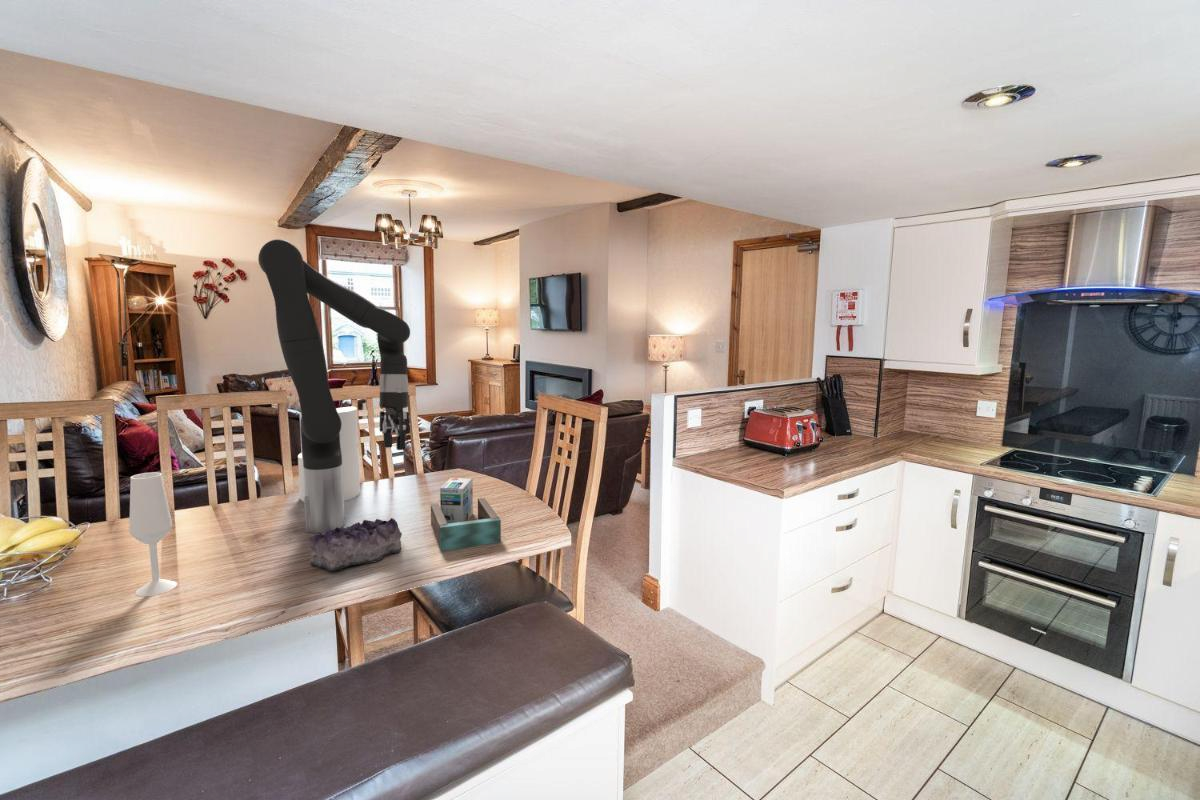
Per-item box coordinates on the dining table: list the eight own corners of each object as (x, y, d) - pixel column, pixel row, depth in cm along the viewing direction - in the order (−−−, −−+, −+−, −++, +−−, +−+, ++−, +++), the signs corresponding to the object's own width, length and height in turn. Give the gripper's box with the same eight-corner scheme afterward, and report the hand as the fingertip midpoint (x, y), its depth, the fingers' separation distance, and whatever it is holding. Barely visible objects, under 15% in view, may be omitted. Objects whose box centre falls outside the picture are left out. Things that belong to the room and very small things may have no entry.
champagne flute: (180, 588, 110) (171, 475, 107) (138, 599, 105) (126, 482, 102) (173, 577, 115) (164, 469, 112) (132, 588, 110) (121, 475, 107)
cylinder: (371, 493, 175) (368, 408, 171) (320, 507, 160) (315, 415, 156) (340, 484, 184) (336, 403, 180) (289, 496, 169) (284, 409, 165)
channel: (440, 550, 131) (440, 527, 131) (431, 524, 149) (430, 503, 148) (500, 542, 138) (500, 519, 137) (484, 517, 155) (484, 497, 154)
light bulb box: (463, 526, 148) (463, 488, 147) (439, 525, 148) (439, 487, 147) (473, 513, 159) (473, 477, 157) (451, 512, 159) (450, 477, 157)
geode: (389, 539, 138) (392, 504, 136) (409, 560, 130) (412, 522, 128) (302, 559, 124) (304, 519, 122) (318, 583, 116) (320, 541, 114)
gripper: (370, 390, 151) (370, 447, 152) (391, 390, 141) (391, 451, 142) (396, 390, 157) (396, 445, 157) (418, 390, 147) (418, 449, 147)
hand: (394, 448), depth 149 cm, fingers open, 8 cm apart
